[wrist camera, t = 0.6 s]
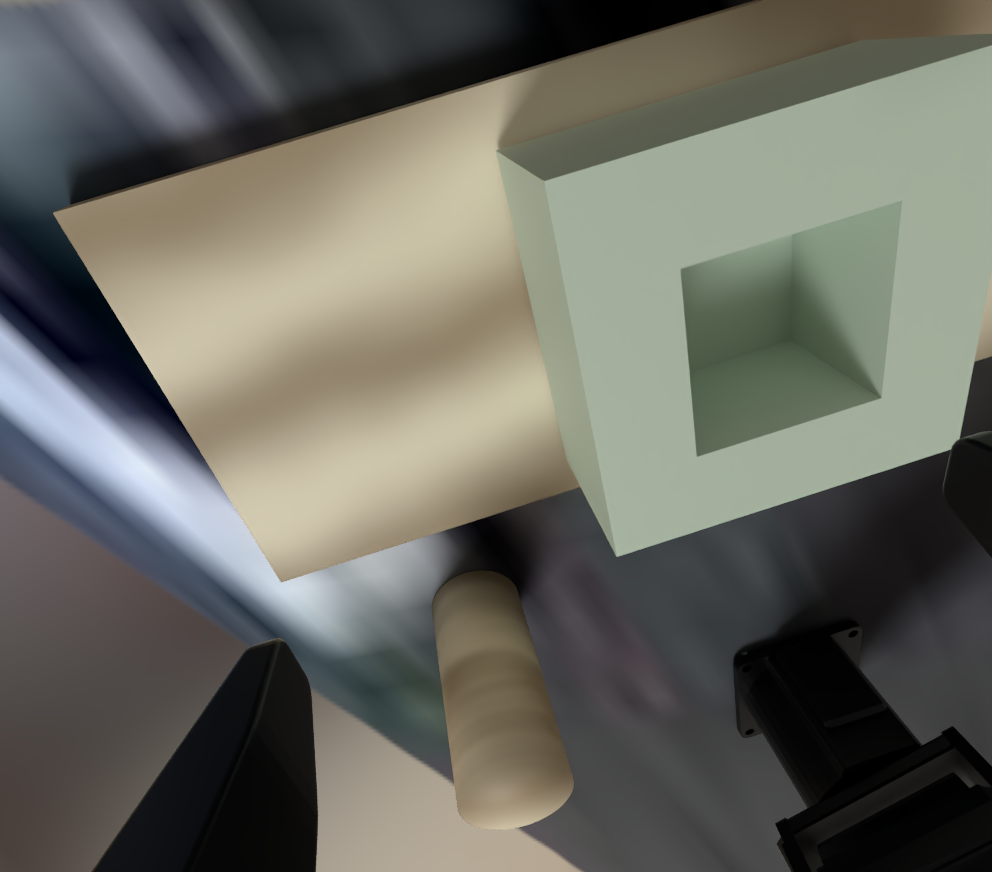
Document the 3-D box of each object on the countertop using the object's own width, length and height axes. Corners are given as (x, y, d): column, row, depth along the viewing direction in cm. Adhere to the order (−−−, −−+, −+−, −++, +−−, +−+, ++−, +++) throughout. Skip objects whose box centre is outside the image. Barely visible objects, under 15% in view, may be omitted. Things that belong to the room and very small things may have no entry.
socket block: (840, 372, 22) (957, 447, 17) (566, 459, 21) (616, 556, 17) (861, 40, 16) (1037, 31, 12) (496, 150, 16) (544, 181, 12)
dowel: (526, 618, 27) (582, 806, 20) (446, 644, 27) (475, 842, 20) (507, 559, 25) (561, 745, 18) (420, 587, 25) (442, 783, 18)
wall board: (1095, 305, 24) (1339, 385, 18) (284, 563, 23) (257, 737, 17) (1226, -141, 17) (1698, -253, 11) (69, 205, 16) (-104, 287, 10)
